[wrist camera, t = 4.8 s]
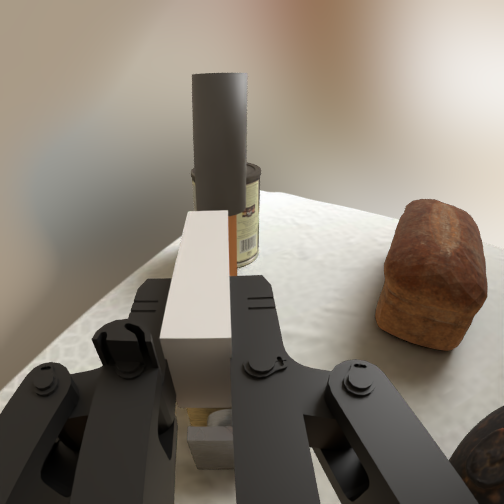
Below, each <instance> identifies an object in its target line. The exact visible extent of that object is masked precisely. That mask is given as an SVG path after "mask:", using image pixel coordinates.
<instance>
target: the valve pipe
mask: <svg viewBox="0 0 504 504" xmlns="http://www.w3.org/2000/svg"><path fill="white" fill-rule="evenodd" d="M187 412H188V416H189V419H190V423H191V426H188V432H187V442H188V444H189V447H190V450H191V453H192V456H193V458H194V461H195V464H196V466H197V469H235V468H234V448H233V427H232V407H230V408H187Z"/></svg>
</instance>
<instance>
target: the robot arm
mask: <svg viewBox="0 0 504 504" xmlns="http://www.w3.org/2000/svg"><path fill="white" fill-rule="evenodd" d="M92 341H93V344H94V346H95V348H96V351H97V353H98V355H99V358H100V360H101V362H102V364H103V366H102V367H100V368H97V369H94V370H91V371H86V372H80V373H75V374H70V373H69V372H68V370H67V368H66V367H64V366H63V365H61V364H60V363H53V362H49V363H44V364H41V365H39V366H37V367H35V368H34V369H33V370H32V371H31V372H30V373H29V374H28V375H27V376H26V377H25V379H24V380H23V382H22V383H21V384H20V386H19V387H18V389H17V390H16V392H15V393H14V394H13V396H12V397H11V399H10V400H9V402H8V403H7V405H6V406H5V408H4V409H3V411H2V412H1V414H0V504H174V487H175V464H176V445H177V429H178V425H177V419H176V416H175V404H176V401H177V404H178V407H179V408H230V407H232V427H233V448H234V468H235V486H236V503H237V504H320V499H319V494H318V489H317V483H316V478H315V473H314V468H313V463H312V458H311V453H310V448H309V447H312V448H313V450H314V452H315V454H316V456H317V458H318V460H319V462H320V464H321V466H322V468H323V470H324V472H325V473H326V475H327V477H328V479H329V481H330V483H331V485H332V487H333V489H334V491H335V492H336V494H337V496H338V498H339V500H340V502H341V504H479V503H478V502H477V500H476V499H475V498H474V496H473V495H472V493H471V492H470V490H469V489H468V487H467V486H466V485H465V483H464V482H463V480H462V479H461V477H460V476H459V475H458V473H457V472H456V470H455V469H454V467H453V466H452V465H451V463H450V462H449V460H448V459H447V458H446V456H445V455H444V453H443V452H442V451H441V449H440V448H439V446H438V445H437V444H436V442H435V441H434V440H433V438H432V437H431V435H430V434H429V433H428V431H427V430H426V429H425V427H424V426H423V424H422V423H421V422H420V420H419V419H418V418H417V416H416V415H415V414H414V412H413V411H412V410H411V408H410V407H409V406H408V404H407V403H406V402H405V400H404V399H403V398H402V396H401V395H400V394H399V392H398V391H397V390H396V388H395V387H394V386H393V384H392V383H391V382H390V380H389V379H388V378H387V376H386V375H385V374H384V372H383V371H381V370H380V369H379V368H378V367H377V366H376V365H374V364H372V363H369V362H367V361H363V360H356V359H354V360H348V361H344V362H342V363H340V364H338V365H336V366H335V367H334V369H333V370H332V371H326V370H320V369H314V368H310V367H306V366H303V365H301V364H299V363H297V362H295V361H294V360H293V359H292V358H290V356H289V355H288V354H287V352H286V351H285V348H284V346H283V341H282V336H281V331H280V326H279V321H278V316H277V312H276V308H275V302H274V298H273V292H272V287H271V284H270V283H269V282H268V281H267V280H266V279H265V278H264V277H263V276H262V275H252V276H229V241H228V210H222V211H189V212H188V215H187V218H186V222H185V226H184V230H183V234H182V238H181V242H180V246H179V250H178V255H177V259H176V263H175V267H174V272H173V276H172V278H171V279H147V280H146V281H145V282H144V283H143V284H142V285H141V286H140V287H139V288H138V290H137V293H136V296H135V299H134V303H133V305H132V308H131V313H130V314H129V317H128V319H123V320H115V321H113V322H110V323H108V324H105V325H104V326H103V327H101V328H100V329H99V330H97V332H96V333H95V335H94V336H93V338H92Z"/></svg>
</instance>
